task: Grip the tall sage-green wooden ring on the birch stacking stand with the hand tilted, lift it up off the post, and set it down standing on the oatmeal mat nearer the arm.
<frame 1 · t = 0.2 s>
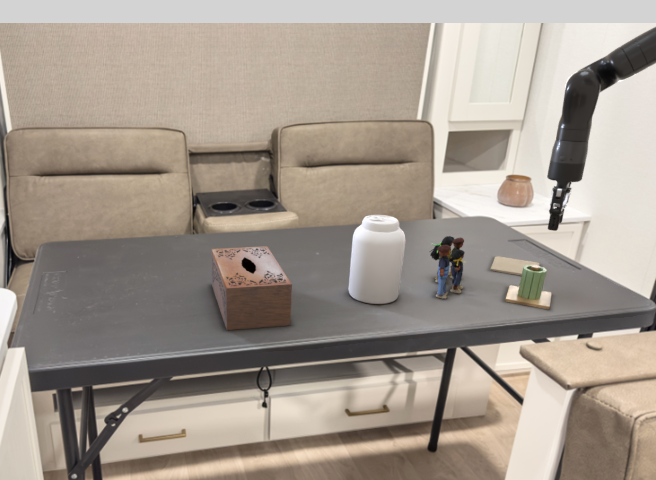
hand: (554, 226, 144), 17 cm above the table, tool pointing down, fingers open, 8 cm apart
can: (373, 295, 146), on the table
tissue box cover: (248, 304, 141), on the table
stacking stand: (528, 298, 146), on the table
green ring: (528, 295, 145), point 1 cm above the table, touching stacking stand
doll family: (445, 286, 153), on the table
oatmeal mat: (515, 267, 166), on the table
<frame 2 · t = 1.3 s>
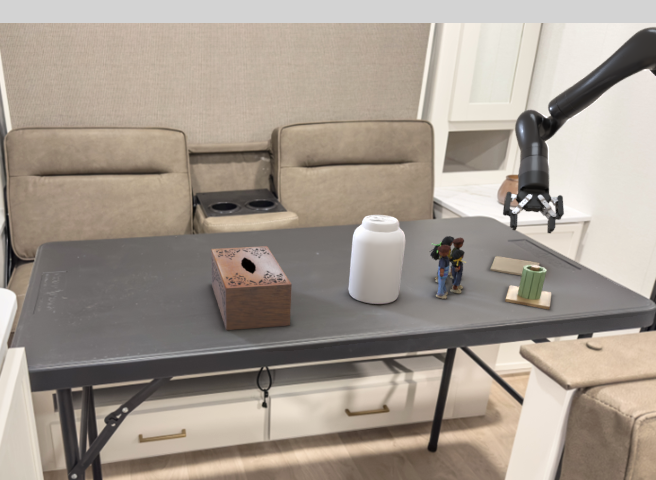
hand: (532, 230, 150), 14 cm above the table, tool tilted 45°, fingers open, 8 cm apart
nothing on the table moved.
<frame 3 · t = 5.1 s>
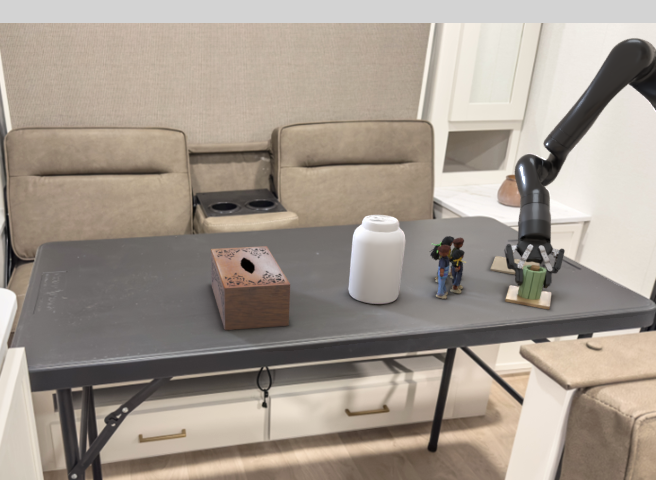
hand: (533, 285, 143), 4 cm above the table, tool tilted 45°, fingers closed on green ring, 5 cm apart
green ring: (528, 295, 145), point 1 cm above the table, touching gripper, stacking stand
everything else where it was.
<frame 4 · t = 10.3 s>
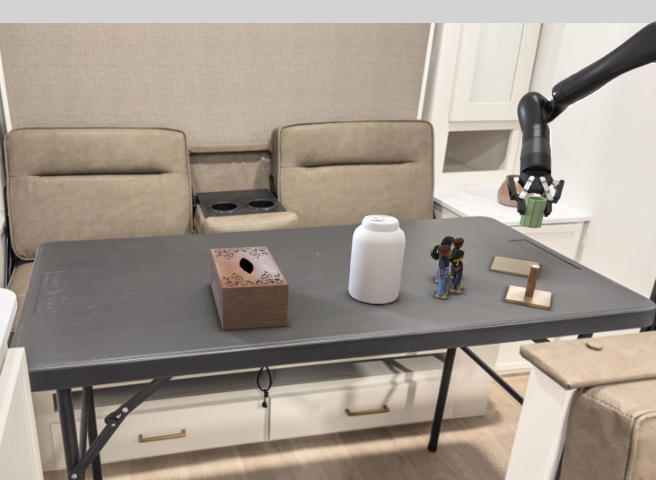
hand: (534, 214, 149), 18 cm above the table, tool tilted 45°, fingers closed on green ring, 5 cm apart
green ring: (530, 225, 152), point 15 cm above the table, touching gripper
everything else where it was.
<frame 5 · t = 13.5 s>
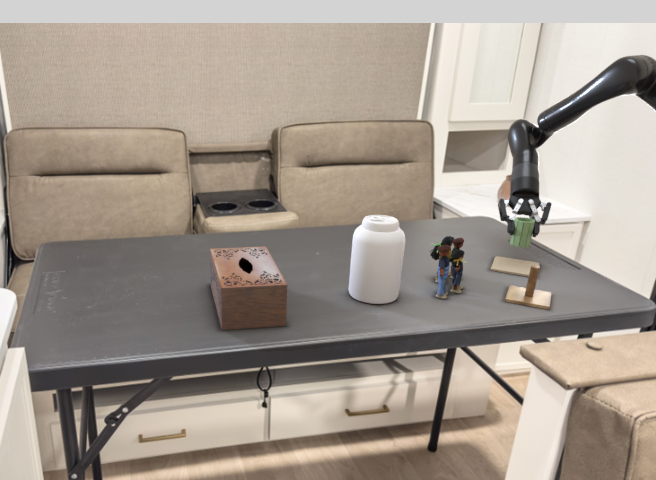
hand: (523, 234, 160), 10 cm above the table, tool tilted 45°, fingers closed on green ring, 5 cm apart
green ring: (519, 244, 163), point 7 cm above the table, touching gripper
everything else where it was.
when the fingers open (4 cm above the table, at t = 15.8 s): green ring stays where it is, resting on oatmeal mat.
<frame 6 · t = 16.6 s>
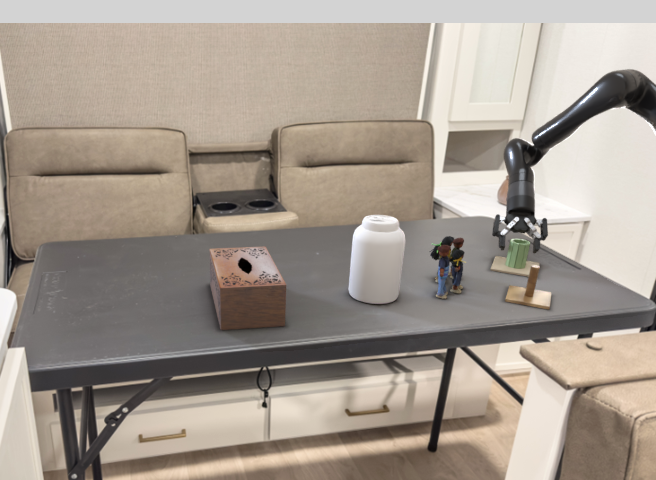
hand: (519, 250, 163), 5 cm above the table, tool tilted 45°, fingers open, 8 cm apart
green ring: (515, 265, 166), point 1 cm above the table, touching oatmeal mat
everything else where it was.
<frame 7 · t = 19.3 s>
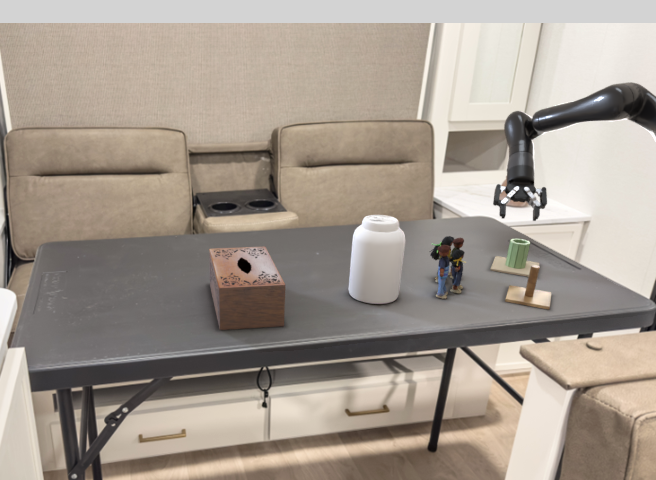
hand: (519, 218, 168), 12 cm above the table, tool tilted 45°, fingers open, 8 cm apart
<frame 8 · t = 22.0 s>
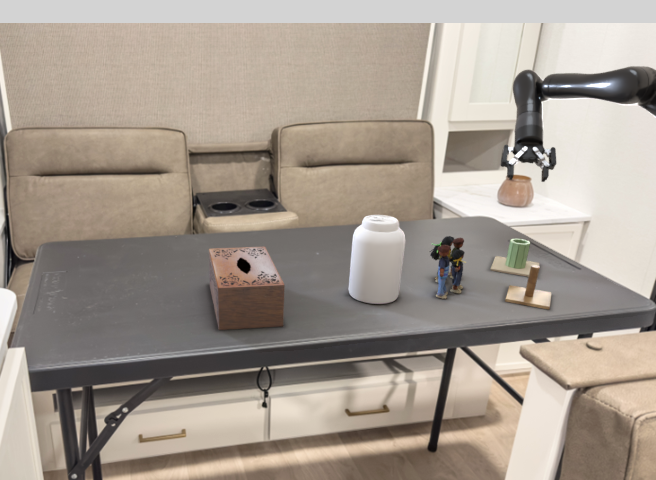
hand: (527, 179, 163), 24 cm above the table, tool tilted 45°, fingers open, 8 cm apart
at the end: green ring inside the target area on the oatmeal mat (0.1 cm from its centre), point 0.6 cm above the oatmeal mat's base; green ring tilted 0°; the gripper is holding nothing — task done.
